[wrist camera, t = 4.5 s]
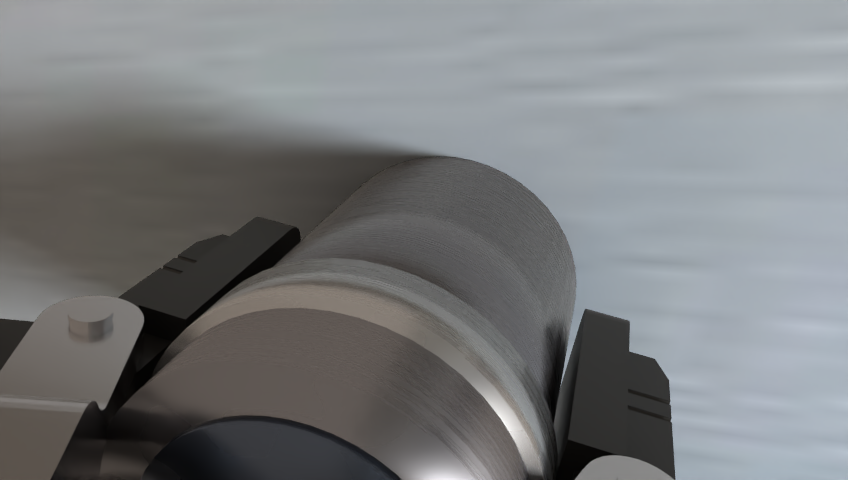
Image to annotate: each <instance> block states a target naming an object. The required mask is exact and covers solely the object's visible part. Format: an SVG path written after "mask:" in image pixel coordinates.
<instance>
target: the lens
mask: <svg viewBox="0 0 848 480" xmlns="http://www.w3.org/2000/svg"><path fill="white" fill-rule="evenodd" d="M575 298H576V273H575V265H574V261H573V257H572V252H571V250H570V247H569V244H568V242H567V239H566V237H565V235H564V233H563V231H562V229H561V227H560V226H559V224H558V222H557V220H556V219H555V218H554V216H553V215H552V214H551V212H550V211H549V210H548V208H547V207H546V206H545V205H544V204H543V203H542V202H541V201H540V200H539V199H538V198H537V196H536V195H535V194H533V193H532V192H531V191H530V190H528V189H527V188H526V187H525V186H523V185H522V184H521V183H520V182H518V181H516V180H515V179H513V178H511V177H510V176H508V175H507V174H505V173H503V172H501V171H498V170H496V169H494V168H492V167H490V166H487V165H484V164H481V163H477V162H474V161H470V160H465V159H459V158H451V157H429V158H419V159H414V160H410V161H405V162H402V163H400V164H397V165H394V166H391V167H389V168H387V169H385V170H383V171H382V172H380V173H378V174H376V175H375V176H373V177H372V178H371V179H369V180H368V181H367V182H365V183H364V184H363V185H362V186H361V187H360V188H358V189H357V190H356V191H355V192H354V193H353V194H352V195H351V196H350V197H349V198H348V199H346V200H345V201H344V202H343V203H342V204H341V205H340V206H339V207H338V208H337V209H336V210H334V211H333V212H332V213H331V214H330V215H329V216H328V217H327V218H326V219H325V220H324V221H322V222H321V223H320V224H319V225H318V226H317V227H316V228H315V229H314V230H313V231H312V232H310V233H309V234H308V235H307V236H306V237H305V238H304V239H303V240H302V241H301V242H300V243H298V244H297V245H296V246H295V247H294V248H293V249H292V250H291V251H290V252H289V253H288V254H286V255H285V256H284V257H283V258H282V259H281V260H280V261H279V262H278V263H277V264H276V265H274V266H273V267H272V268H269V269H266V270H263V271H261V272H260V273H258V274H256V275H254V276H252V277H250V278H248V279H246V280H244V281H242V282H241V283H240V284H238V285H237V286H236V287H234V288H233V289H232V290H230V291H229V292H228V293H226V294H225V295H224V296H223V297H222V298H221V299H219V300H218V301H217V302H216V303H215V304H214V305H213V306H211V307H210V308H209V309H208V310H207V311H206V312H205V313H203V314H202V315H201V316H200V317H199V318H198V319H197V320H195V321H194V322H193V323H192V324H191V325H190V326H189V327H187V328H186V329H185V330H184V331H183V332H182V333H181V334H180V335H179V336H178V337H177V338H176V339H175V340H174V341H173V342H172V343H171V344H170V345H169V347H168V348H167V349H166V351H165V352H164V354H163V355H162V357H161V358H160V360H159V361H158V363H157V364H156V367H155V369H154V371H153V373H152V376H151V378H150V380H149V381H148V382H147V383H146V384H145V385H144V386H142V387H141V388H140V389H139V390H138V391H137V392H136V393H135V394H134V395H133V396H132V397H131V398H130V399H129V400H128V401H127V402H126V403H125V404H124V405H123V406H122V407H121V408H120V409H119V410H118V412H117V413H116V415H115V416H114V418H113V419H112V421H111V422H110V424H109V425H108V427H107V442H106V445H105V448H104V452H103V457H102V462H101V469H100V480H556V473H557V467H558V450H557V441H556V433H555V429H554V420H555V414H556V408H557V402H558V397H559V391H560V385H561V379H562V374H563V368H564V362H565V356H566V351H567V345H568V339H569V333H570V328H571V322H572V316H573V310H574V305H575Z"/></svg>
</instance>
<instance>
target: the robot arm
mask: <svg viewBox="0 0 848 480" xmlns="http://www.w3.org/2000/svg"><path fill="white" fill-rule="evenodd" d="M298 243H300V231H299V229H298V228H297V227H293V226H290V225H286V224H282V223H279V222H275V221H272V220H268V219H264V218H261V217H256V218H254V219H253V220H251V221H250V222H249V223H247V224H246V225H245V226H243V227H242V228H241V229H239V230H238V231H237V232H235V233H234V234H233V235H231V236H230V237H229V236H226V235H220V236H216V237H213V238H210V239H206V240H203V241H200V242H197V243H195V244H194V245H192V246H191V247H189V248H188V249H186V250H185V251H184V252H182V253H181V254H179V255H178V258H174V259H172V260H171V261H169V262H168V263H167V264H165V265H164V266H163V269H161V268H160V269H158V270H157V271H155V272H154V273H152V274H151V275H150V276H148V277H147V278H145V279H144V280H142V281H141V282H140V283H138V284H137V285H135V286H134V287H133V288H131V289H130V290H128V291H127V292H125V293H124V294H123V295H121V296H120V297H118V298H115V297H110V296H82V297H76V298H71V299H67V300H64V301H61V302H58V303H56V304H54V305H52V306H50V307H48V308H47V309H45V310H44V311H43V312H42V313H41V314H40V315H39V316H38V317H37V319H36V320H35V322H30V321H19V320H9V319H0V480H100V469H101V462H102V457H103V452H104V448H105V445H106V442H107V427H108V425H109V424H110V422H111V421H112V419H113V418H114V416H115V415H116V413H117V412H118V410H119V409H120V408H121V407H122V406H123V405H124V404H125V403H126V402H127V401H128V400H129V399H130V398H131V397H132V396H133V395H134V394H135V393H136V392H137V391H138V390H139V389H140V388H141V387H142V386H144V385H145V384H146V383H147V382H148V381H149V380H150V378H151V376H152V373H153V371H154V369H155V367H156V364H157V363H158V361H159V360H160V358H161V357H162V355H163V354H164V352H165V351H166V349H167V348H168V347H169V345H170V344H171V343H172V342H173V341H174V340H175V339H176V338H177V337H178V336H179V335H180V334H181V333H182V332H183V331H184V330H185V329H186V328H187V327H189V326H190V325H191V324H192V323H193V322H194V321H195V320H197V319H198V318H199V317H200V316H201V315H202V314H203V313H205V312H206V311H207V310H208V309H209V308H210V307H211V306H213V305H214V304H215V303H216V302H217V301H218V300H219V299H221V298H222V297H223V296H224V295H225V294H226V293H228V292H229V291H230V290H232V289H233V288H234V287H236V286H237V285H238V284H240V283H241V282H242V281H244V280H246V279H248V278H250V277H252V276H254V275H256V274H258V273H260V272H261V271H263V270H266V269H269V268H272V267H273V266H274V265H276V264H277V263H278V262H279V261H280V260H281V259H282V258H283V257H284V256H285V255H286V254H288V253H289V252H290V251H291V250H292V249H293V248H294V247H295V246H296V245H297V244H298ZM629 331H630V322H629V321H628V320H624V319H621V318H617V317H613V316H610V315H606V314H603V313H599V312H595V311H592V310H588V309H585V311H584V314H583V316H582V319H581V322H580V326H579V329H578V332H577V336H576V339H575V342H574V345H573V349H572V352H571V355H570V358H569V362H568V365H567V368H566V371H565V375H564V378H563V381H562V384H561V388H560V391H559V397H558V402H557V408H556V414H555V420H554V429H555V433H556V441H557V450H558V467H557V473H556V480H675V467H674V451H673V436H672V422H670V421H671V405H669V404H670V390H669V380H668V378H667V377H666V375H665V374H664V372H663V371H662V369H661V368H660V366H659V365H658V363H657V362H656V360H655V359H653V358H650V357H646V356H643V355H639V354H636V353H632V352H629Z"/></svg>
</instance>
